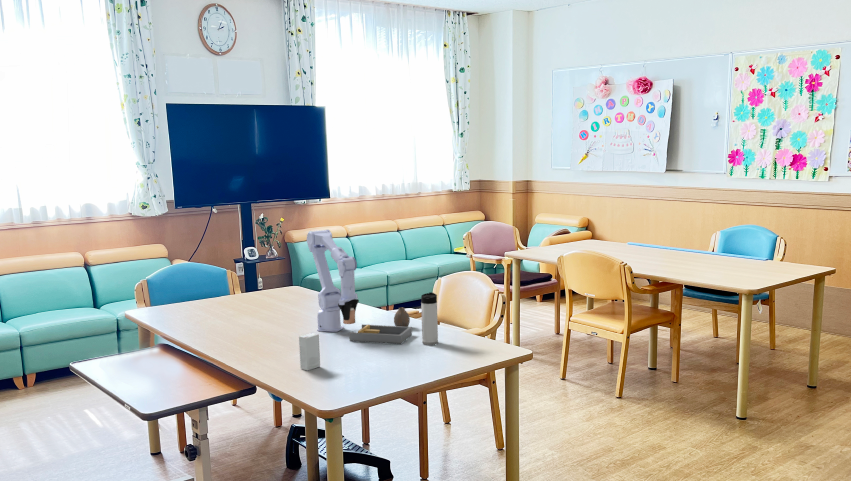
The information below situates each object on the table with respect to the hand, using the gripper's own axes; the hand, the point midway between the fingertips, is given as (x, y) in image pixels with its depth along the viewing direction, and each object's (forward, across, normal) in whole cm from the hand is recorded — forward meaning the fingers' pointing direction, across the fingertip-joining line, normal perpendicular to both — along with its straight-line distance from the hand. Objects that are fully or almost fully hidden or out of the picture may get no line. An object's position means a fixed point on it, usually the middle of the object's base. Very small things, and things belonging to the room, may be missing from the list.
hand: (349, 318), depth 285 cm
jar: (+2, 0, 0) cm, 2 cm away
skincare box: (+8, -43, -3) cm, 44 cm away
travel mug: (+8, -3, -36) cm, 37 cm away
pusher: (+7, 0, -10) cm, 12 cm away
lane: (+8, 0, -14) cm, 16 cm away
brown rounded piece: (+8, +18, -17) cm, 26 cm away
